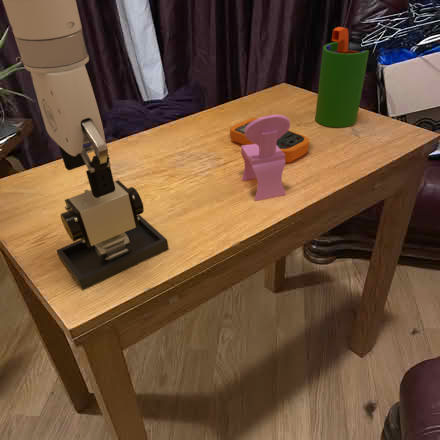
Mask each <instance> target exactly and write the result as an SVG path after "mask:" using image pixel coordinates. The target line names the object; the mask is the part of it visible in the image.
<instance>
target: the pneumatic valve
mask: <svg viewBox="0 0 440 440" xmlns="http://www.w3.org/2000/svg"><path fill="white" fill-rule="evenodd" d="M114 185H115V191H114V192H112V193H109V194H106V195H104V196H101V197H99V198H95V197H94V196H93V194H92V191H91V189H90V190H88V189H85V190H84V192H82V193H79V194H76V195H74V196H72V197H68V198H66V199H64V204H65V205H66V206H64V210H65V212H61V213H60V220H61V222H62V225H63V228H64V229H65V231H66V234H67V235H68V237H69V238H70V240H71V241H72V242H77V241H79V240H82V242H83V243H84V244H85V245H86V246H87V248H88V247H91V246H93V245H94V246H95V249H96V252H97V254H98V255H99V257H101V258H102V257H104V256H106V258H105V260H107V261H108V260H109V261H111V260H113V259H115V258H118V257H120V256H122V255H124V254H127V252H128V249H127V248H126V247H127V246H129V245H130V241H129V238H128V236H127V235H126V233H124V232H126V231H129V230H131V229H133V228H136V227H138V226H139V222H138V220H140V219H139V217H137V216H138V215H141V214H143V213H144V211H145V209H144V203H143V201H142V198H141V196H140V194H139V192H138V191H137V189H136V188H135V187H133V186H131V187H127V186H125V185H124V184H123V183H122V181H120V180H119V179H118V180H115V181H114Z"/></svg>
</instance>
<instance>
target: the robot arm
mask: <svg viewBox="0 0 440 440" xmlns="http://www.w3.org/2000/svg"><path fill="white" fill-rule="evenodd" d="M2 3H3V6H4V9H5V12H6V16H7V19H8V22H9V24H10V28H11V30H12V33H13V36H14V39H15V43H16V45H17V49H18V51H19V55H20V58H21V61H22V63H23V66H24V69H25V70H27V71H28V72H30V76H31V81H32V84H33V88H34V91H35V95H36V98H37V102H38V106H39V110H40V113H41V117H42V121H43V123H44V127H45V130H46V133H47V134H48V136H49V137H50V138H51V139H52V140H53V141H54V142H55V143H56V144H57V145H58V149H59V152H60V155H61V158H62V161H63V165H64V167H65V169H66V170H67V171H72V170H75V169H78V168H80V167H84V166H86V168H87V170H85V172H86V177H87V180H88V183H89V188H90V190H91V191H92V194H93V196H94V197H95V198H99V197H101V196H104V195H106V194H109V193H112V192H114V191H115V185H114V182H115V181H114V177H113V171H112V167H111V161H110V160H111V159H110V157H109V156H110V155H109V147H108V145H107V143H106V137H105V132H104V127H103V121H102V119H101V114H100V111H99V107H98V103H97V100H96V97H95V93H94V89H93V86H92V82H91V80H90V77H89V74H88V70H87V68H86V64H87V63H89V61H90V56H89V52H88V48H87V44H86V39H85V35H84V31H83V27H82V21H81V18H80V13H79V9H78V3H77V0H2ZM88 143H89V145H87V146H84V145H85V144H88ZM93 152H94V155H93V156H92V159H91V158H90V156H89V153H93Z"/></svg>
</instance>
